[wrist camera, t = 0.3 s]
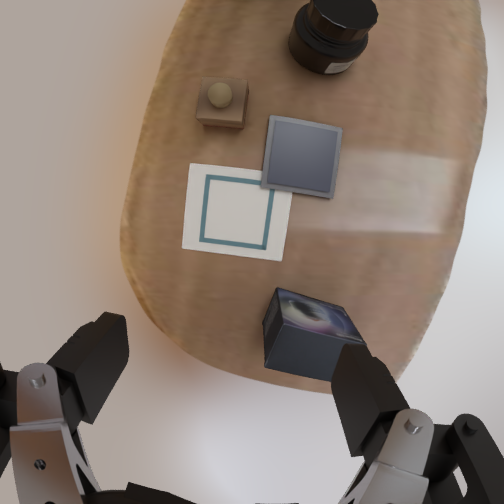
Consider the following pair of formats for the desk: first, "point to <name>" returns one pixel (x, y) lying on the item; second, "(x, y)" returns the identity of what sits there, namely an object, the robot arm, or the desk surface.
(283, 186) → the ink pad
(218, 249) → the sheet
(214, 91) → the stamp
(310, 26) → the ink bottle
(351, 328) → the small box
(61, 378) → the robot arm
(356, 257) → the desk surface
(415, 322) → the desk surface
